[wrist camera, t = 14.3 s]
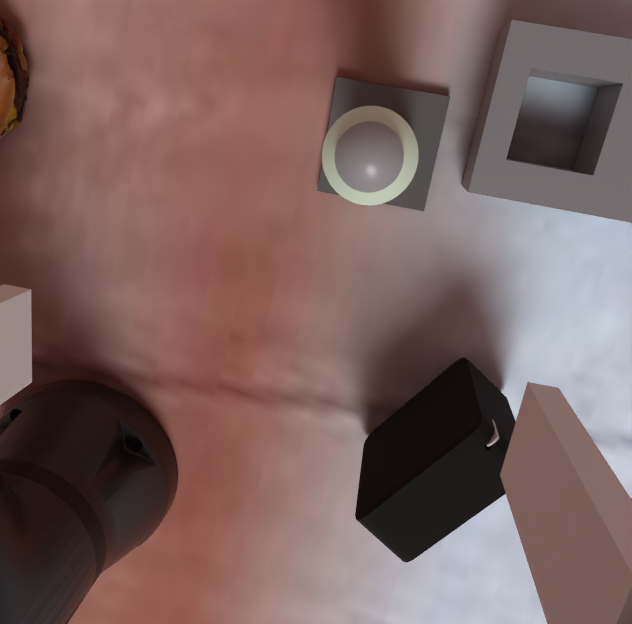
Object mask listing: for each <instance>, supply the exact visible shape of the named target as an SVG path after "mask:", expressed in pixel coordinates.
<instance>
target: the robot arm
mask: <svg viewBox="0 0 632 624" xmlns="http://www.w3.org/2000/svg"><path fill="white" fill-rule="evenodd" d="M30 383H32V314H31V289H27V288H22V287H16V286H11V285H6V284H3V285H1V286H0V405H1V404H2V403H4V402H5V401H7V400H8V399H9V398H11V397H12V396H14V395H15V394H16V393H18V392H19V391H21V390H22V389H23V388H25V387H26V386H28V385H29V384H30ZM500 477H501V480H502V483H503V486H504V489H505V492H506V495H507V499H508V502H509V505H510V508H511V511H512V514H513V517H514V520H515V524H516V527H517V530H518V533H519V536H520V539H521V542H522V545H523V549H524V552H525V555H526V558H527V561H528V564H529V567H530V570H531V574H532V577H533V580H534V583H535V586H536V589H537V592H538V595H539V599H540V602H541V605H542V608H543V611H544V614H545V617H546V620H547V624H632V499H631V498H630V497H629V495H628V494H627V492H626V491H625V489H624V488H623V486H622V484H621V483H620V481H619V480H618V478H617V477H616V475H615V474H614V472H613V471H612V469H611V468H610V466H609V465H608V463H607V461H606V460H605V458H604V457H603V455H602V454H601V452H600V451H599V449H598V448H597V446H596V445H595V443H594V442H593V440H592V438H591V437H590V435H589V434H588V432H587V431H586V429H585V428H584V426H583V425H582V423H581V422H580V420H579V419H578V417H577V415H576V414H575V412H574V411H573V409H572V408H571V406H570V405H569V403H568V402H567V400H566V399H565V397H564V396H563V394H562V392H561V391H560V389H559V388H556V387H551V386H545V385H540V384H535V383H529V382H528V383H527V386H526V390H525V393H524V396H523V400H522V403H521V406H520V410H519V413H518V416H517V420H516V423H515V427H514V430H513V433H512V437H511V440H510V443H509V447H508V450H507V453H506V457H505V460H504V463H503V467H502V470H501V473H500ZM177 480H178V476H177V465H176V460H175V457H174V453H173V450H172V448H171V445H170V443H169V441H168V439H167V437H166V436H165V434H164V432H163V431H162V429H161V428H160V426H159V425H158V424H157V422H156V421H155V420H154V419H153V418H152V417H151V416H150V415H149V414H148V413H147V412H146V411H145V410H144V409H143V408H142V407H141V406H140V405H138V404H137V403H136V402H134V401H133V400H132V399H130V398H128V397H127V396H125V395H123V394H122V393H120V392H118V391H116V390H114V389H111V388H109V387H106V386H103V385H100V384H96V383H92V382H87V381H76V380H69V381H59V382H54V383H50V384H47V385H44V386H42V387H40V388H37V389H36V390H34V391H32V392H31V393H29V394H28V395H27V396H25V397H24V398H23V399H21V400H20V401H18V402H17V403H16V404H14V405H13V406H12V407H11V408H10V409H9V410H8V411H7V412H6V413H5V414H4V415H3V416H2V417H1V419H0V624H68V622H69V621H70V619H71V618H72V616H73V615H74V613H75V612H76V610H77V609H78V607H79V605H80V604H81V602H82V601H83V599H84V598H85V596H86V595H87V593H88V592H89V590H90V588H91V587H92V585H93V584H94V582H95V581H96V579H97V578H98V577H99V575H100V574H101V573H102V572H103V571H105V570H106V569H107V568H109V567H110V566H112V565H113V564H114V563H116V562H117V561H118V560H120V559H121V558H122V557H124V556H125V555H126V554H128V553H129V552H130V551H132V550H133V549H134V548H136V547H137V546H139V545H141V544H142V543H143V542H145V541H146V540H147V539H148V538H149V537H150V536H151V535H152V534H153V533H154V532H155V530H156V529H157V528H158V526H159V525H160V523H161V522H162V520H163V518H164V517H165V515H166V514H167V512H168V510H169V509H170V507H171V505H172V503H173V500H174V497H175V494H176V489H177Z"/></svg>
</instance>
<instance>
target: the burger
mask: <svg viewBox="0 0 632 624" xmlns="http://www.w3.org/2000/svg"><path fill="white" fill-rule="evenodd" d="M28 82H29V74H28V73H27V60H26V58H25V57H24V54H23V44H22V42H21V39H20V37H19V36H18V34H17V33H16V32H15V30H11V28H10V27H9V25H8V23H7V22H6V21H5V20H3V19H2V18H0V138H2V137H3V136H4V135H6V134H7V133H8V132H10V131H11V130H12V129H13V128H14V127H16V126H17V125H18V124H19V123H20V122H21V121H22V116H23V112H24V108H25V101H26V100H27V96H26V92H27V88H28Z"/></svg>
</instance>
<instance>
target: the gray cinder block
mask: <svg viewBox="0 0 632 624" xmlns="http://www.w3.org/2000/svg"><path fill="white" fill-rule="evenodd" d="M529 76H533V77H539V78H545V79H550V80H556V81H562V82H568V83H574V84H580V85H586V86H592V87H598V88H599V89H598V92H597V96H596V99H595V102H594V105H593V108H592V112H591V115H590V118H589V121H588V124H587V128H586V131H585V134H584V137H583V140H582V144H581V147H580V150H579V153H578V157H577V160H576V163H575V166H574V169H573V170H571V169H565V168H560V167H554V166H549V165H543V164H538V163H532V162H527V161H521V160H516V159H510V158H507V155H508V151H509V147H510V144H511V140H512V136H513V133H514V129H515V125H516V122H517V118H518V114H519V111H520V107H521V103H522V100H523V96H524V92H525V88H526V85H527V81H528V77H529ZM462 186H463V187H464V188H465V189H466V190H467V191H468V192H471V193H477V194H482V195H487V196H493V197H498V198H503V199H509V200H514V201H519V202H525V203H530V204H535V205H541V206H546V207H551V208H557V209H562V210H567V211H573V212H578V213H583V214H589V215H594V216H599V217H605V218H610V219H615V220H621V221H626V222H631V223H632V39H629V38H623V37H617V36H610V35H604V34H598V33H592V32H586V31H579V30H573V29H567V28H561V27H555V26H548V25H542V24H536V23H530V22H524V21H518V20H511V21H510V22H509V23H508V24H507V25H506V26H505V27H504V28H503V29H502V30H501V31H500V33H499V37H498V41H497V45H496V49H495V53H494V57H493V61H492V65H491V69H490V73H489V77H488V81H487V85H486V89H485V93H484V97H483V101H482V105H481V109H480V113H479V117H478V121H477V125H476V129H475V133H474V137H473V141H472V145H471V149H470V153H469V157H468V161H467V165H466V169H465V173H464V177H463V181H462Z"/></svg>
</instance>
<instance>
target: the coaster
mask: <svg viewBox="0 0 632 624" xmlns="http://www.w3.org/2000/svg"><path fill="white" fill-rule="evenodd" d="M449 99H450V96H444V95H438V94H433V93H427V92H421V91H415V90H410V89H404V88H398V87H392V86H387V85H381V84H375V83H370V82H364V81H358V80H352V79H347V78H341V77H336V83H335V89H334V95H333V101H332V107H331V113H330V119H329V125H328V131H329V130H330V128H331V127H332V125H333V124H334V123H335V122H336V121H337V120H338V119H339V118H340V117H341V116H342V115H344V114H345V113H347V112H349V111H351V110H353V109H355V108H358V107H363V106H380V107H384V108H387V109H390V110H392V111H394V112H395V113H397V114H398V115H400V116H401V117H402V118H403V119H404V120H405V121H406V122H407V123H408V124H409V126H410V127H411V129H412V131H413V132H414V135H415V137H416V140H417V144H418V165H417V168H416V172H415V174H414V177H413V179H412V180H411V182H410V184H409V185H408V186H407V188H406V189H405V190H404V191H403V192H402V193H401V194H399V195H398V196H397V197H395V198H394V199H392V200H390V201H388V202H385V203H384V204H389V205H394V206H399V207H405V208H410V209H415V210H420V211H424V207H425V203H426V199H427V194H428V190H429V186H430V181H431V177H432V173H433V168H434V164H435V160H436V155H437V151H438V147H439V143H440V138H441V134H442V130H443V125H444V121H445V117H446V112H447V108H448V104H449ZM328 131H327V133H328ZM318 191H321V192H326V193H332V194H337V195H339V194H338V193H337V192H336V191H335V190H334V189H333V187H332V186H331V185H330V183H329V181H328V180H327V177H326V175H325V172H324V169H323V164H322V167H321V173H320V179H319V185H318Z"/></svg>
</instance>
